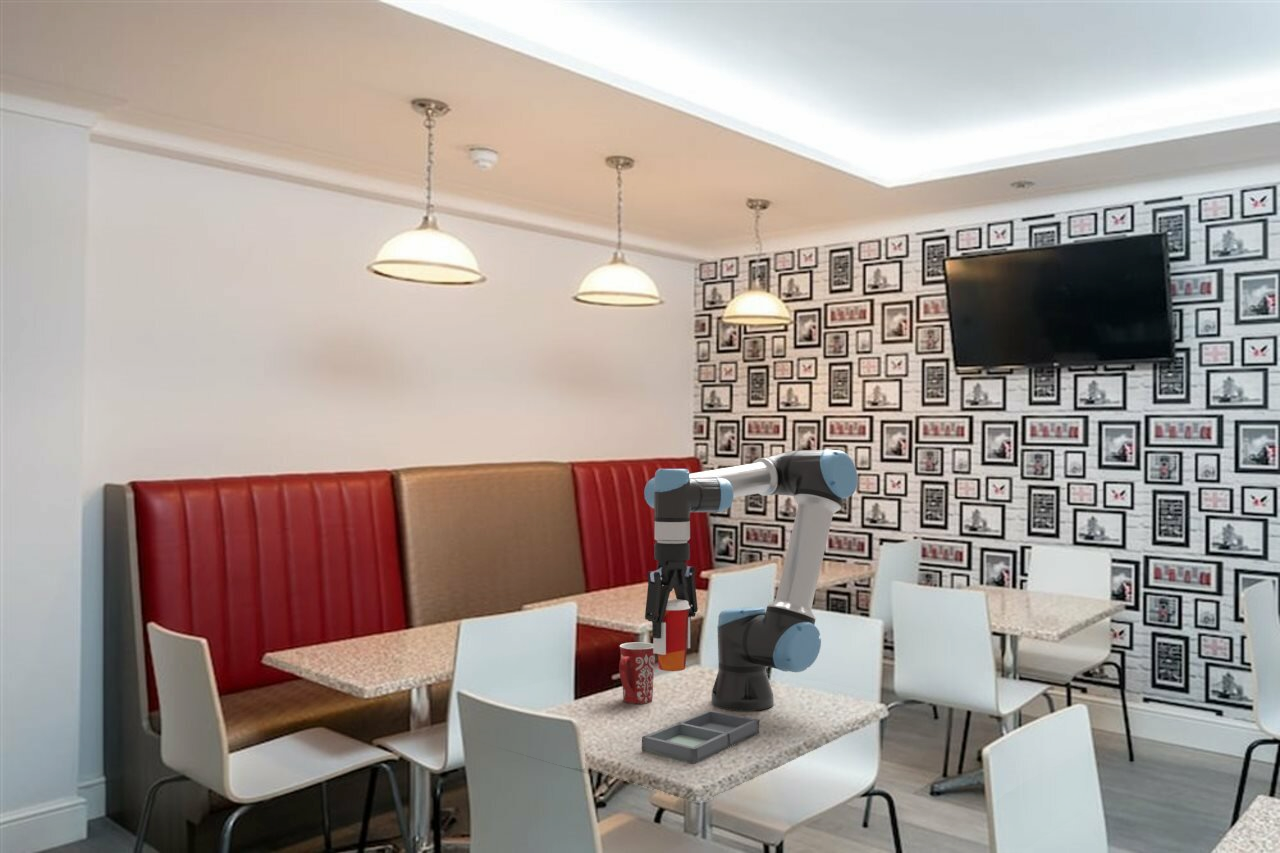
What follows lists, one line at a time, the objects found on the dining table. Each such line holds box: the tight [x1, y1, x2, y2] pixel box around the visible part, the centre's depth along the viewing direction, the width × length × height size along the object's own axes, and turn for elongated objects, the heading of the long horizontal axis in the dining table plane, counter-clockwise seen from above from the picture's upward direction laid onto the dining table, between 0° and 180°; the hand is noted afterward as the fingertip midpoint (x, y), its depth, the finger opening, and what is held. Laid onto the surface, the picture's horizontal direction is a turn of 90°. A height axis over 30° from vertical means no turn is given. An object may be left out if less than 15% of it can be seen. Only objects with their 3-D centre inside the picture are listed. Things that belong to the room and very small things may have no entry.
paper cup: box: [657, 598, 690, 672], centre depth 186 cm, size 8×8×14 cm
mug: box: [618, 641, 656, 704], centre depth 218 cm, size 13×9×14 cm
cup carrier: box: [641, 709, 760, 765], centre depth 187 cm, size 25×13×3 cm, turn 142°
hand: (672, 650), depth 186 cm, fingers closed on paper cup, 8 cm apart
